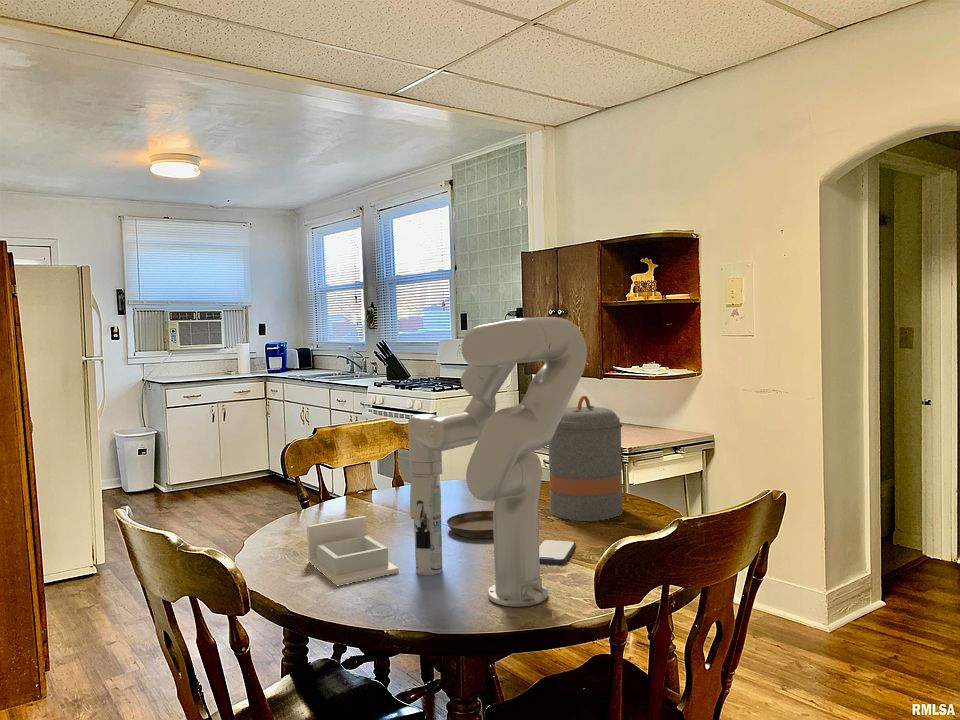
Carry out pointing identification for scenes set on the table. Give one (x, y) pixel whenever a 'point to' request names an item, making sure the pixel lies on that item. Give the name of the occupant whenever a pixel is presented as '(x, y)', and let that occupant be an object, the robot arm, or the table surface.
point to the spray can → (431, 542)
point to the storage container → (586, 464)
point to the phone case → (555, 551)
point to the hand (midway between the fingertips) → (428, 542)
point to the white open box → (347, 551)
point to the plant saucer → (473, 524)
